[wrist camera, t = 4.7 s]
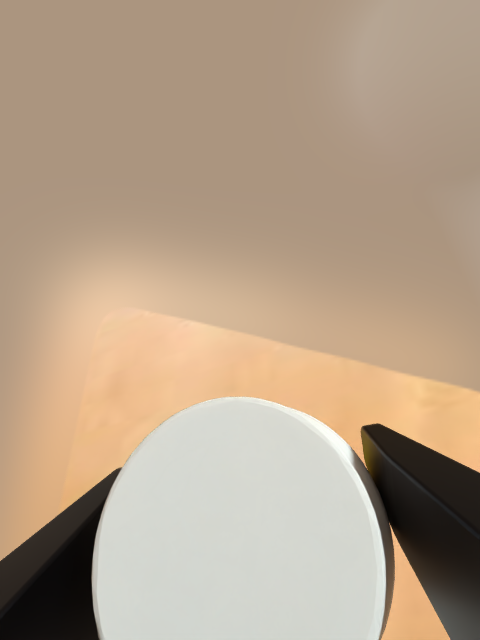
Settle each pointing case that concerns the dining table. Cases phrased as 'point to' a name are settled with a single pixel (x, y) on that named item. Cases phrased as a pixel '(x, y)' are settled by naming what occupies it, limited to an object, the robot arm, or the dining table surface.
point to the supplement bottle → (243, 532)
